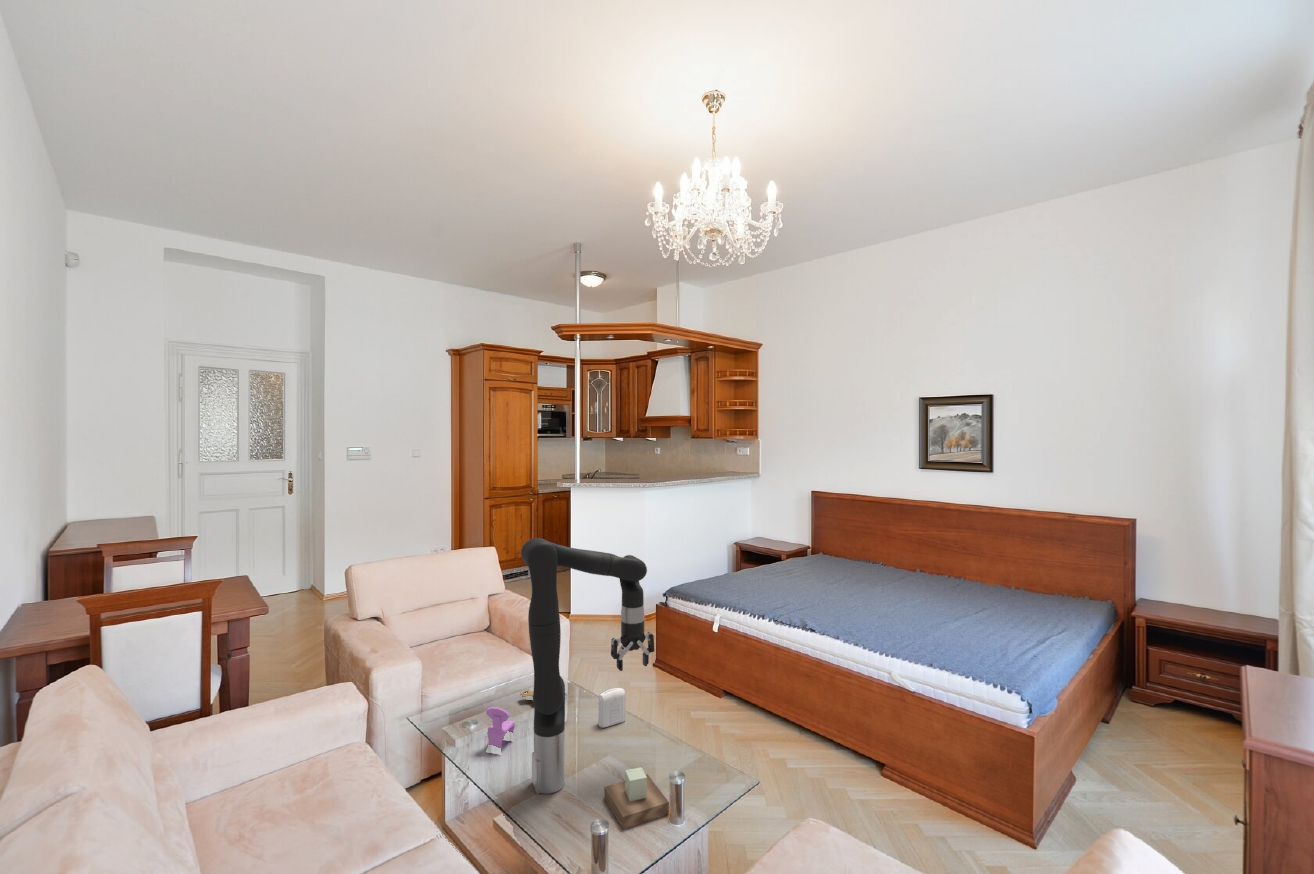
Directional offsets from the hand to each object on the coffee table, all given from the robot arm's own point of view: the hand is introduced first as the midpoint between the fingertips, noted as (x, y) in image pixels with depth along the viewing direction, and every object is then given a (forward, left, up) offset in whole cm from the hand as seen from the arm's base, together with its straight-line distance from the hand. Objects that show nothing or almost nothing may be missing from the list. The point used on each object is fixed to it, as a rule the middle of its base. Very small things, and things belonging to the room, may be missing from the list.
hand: (632, 667), depth 190 cm
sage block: (-8, -21, -27) cm, 35 cm away
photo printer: (+2, +24, -31) cm, 39 cm away
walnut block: (-8, -21, -31) cm, 38 cm away
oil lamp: (-18, +49, -31) cm, 60 cm away
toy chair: (-38, +25, -31) cm, 55 cm away
